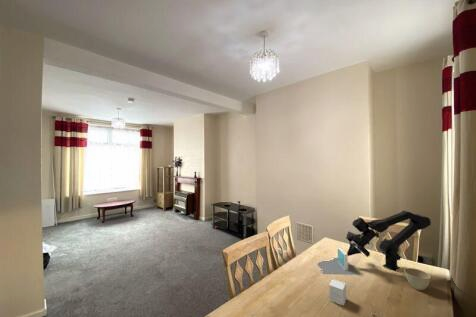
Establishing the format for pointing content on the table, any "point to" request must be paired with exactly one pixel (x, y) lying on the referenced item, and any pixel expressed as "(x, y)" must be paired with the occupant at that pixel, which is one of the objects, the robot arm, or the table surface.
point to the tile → (343, 258)
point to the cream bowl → (417, 278)
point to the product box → (337, 292)
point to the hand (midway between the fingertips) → (347, 255)
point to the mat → (336, 268)
